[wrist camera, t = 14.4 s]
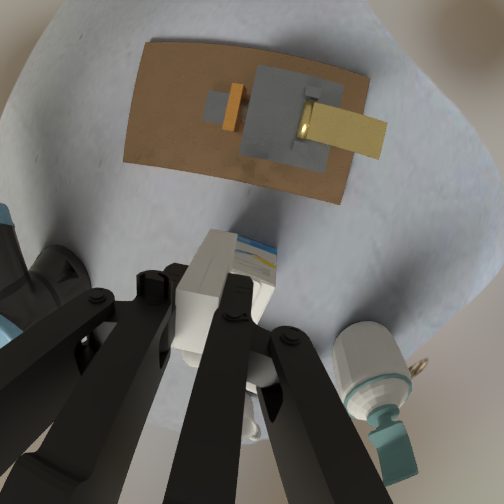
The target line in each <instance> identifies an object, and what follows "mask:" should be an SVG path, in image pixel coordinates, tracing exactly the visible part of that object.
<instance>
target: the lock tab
mask: <svg viewBox="0 0 504 504" xmlns="http://www.w3.org/2000/svg"><path fill="white" fill-rule="evenodd" d="M386 127H387V123H386V122H383V121H380V120H377V119H374V118H371V117H368V116H365V115H361V114H358V113H354V112H351V111H347V110H344V109H340V108H336V107H332V106H328V105H324V104H320V103H316V102H314V101H311V100H305V102H304V107H303V111H302V116H301V120H300V125H299V129H298V134H297V138H301V139H305V140H308V139H309V140H312V141H316V142H320V143H324V144H328V145H331V146H335V147H338V148H342V149H345V150H349V151H352V152H355V153H358V154H362V155H365V156H368V157H371V158H374V159H377V160H379V157H380V153H381V149H382V144H383V140H384V136H385V132H386Z"/></svg>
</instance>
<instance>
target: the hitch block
mask: <svg viewBox="0 0 504 504" xmlns="http://www.w3.org/2000/svg"><path fill="white" fill-rule="evenodd" d="M369 81H370V78H368V77H365V76H363V75H360V74H357V73H354V72H351V71H348V70H344V69H341V68H338V67H335V66H331V65H328V64H324V63H320V62H317V61H313V60H309V59H305V58H300V57H296V56H291V55H287V54H282V53H277V52H271V51H265V50H259V49H253V48H246V47H238V46H230V45H220V44H208V43H190V42H145V46H144V50H143V53H142V57H141V61H140V65H139V70H138V74H137V78H136V83H135V88H134V93H133V98H132V103H131V109H130V114H129V120H128V127H127V133H126V141H125V148H124V156H123V162H127V163H134V164H141V165H148V166H155V167H162V168H168V169H174V170H180V171H186V172H192V173H198V174H203V175H209V176H214V177H219V178H225V179H230V180H235V181H240V182H244V183H249V184H254V185H259V186H263V187H268V188H272V189H277V190H281V191H285V192H290V193H294V194H298V195H302V196H306V197H310V198H314V199H318V200H322V201H326V202H330V203H333V204H337V205H340V203H341V200H342V196H343V192H344V189H345V185H346V181H347V178H348V174H349V170H350V166H351V162H352V158H353V154H354V152H352V151H349V150H345V149H342V148H338V147H335V146H331V145H328V144H324V143H320V142H316V141H312V140H309V139H308V140H305V139H301V138H297V134H298V129H299V125H300V120H301V116H302V111H303V107H304V102H305V100H311V101H314V102H316V103H320V104H324V105H328V106H332V107H336V108H340V109H344V110H347V111H351V112H354V113H358V114H361V115H363V111H364V106H365V101H366V97H367V92H368V86H369ZM232 83H237V84H243V85H244V86H245V87H246V89H247V92H246V97H245V99H247V100H250V102H249V107H248V111H247V116H246V120H245V122H243V121H240V125H239V130H238V132H234V131H228V130H222V128H223V123H224V118H225V113H226V109H227V104H228V99H229V95H230V90H231V86H232Z"/></svg>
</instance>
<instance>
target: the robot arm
mask: <svg viewBox="0 0 504 504" xmlns="http://www.w3.org/2000/svg"><path fill="white" fill-rule="evenodd" d="M237 235H238V234H236V233H230V232H225V231H219V230H214V229H210V231H209V232H208V234H207V236H206V237H205V239H204V241H203V242H202V244H201V246H200V248H199V249H198V251H197V253H196V254H195V256H194V258H193V260H192V261H191V263H190V265H189V266H188V265H183V264H178V263H173V264H171V265H169V266H167V267H166V268H165V269H164V271H163V272H162V271H157V270H148V271H144V272H140V273H139V274H138V275H136V277H137V296H136V297H135V299H134V300H133V301H115V296H114V294H113V293H112V292H111V291H110V290H108V289H104V288H92V289H91V284H90V280H89V277H88V274H87V272H86V270H85V268H84V266H83V265H82V263H81V262H80V260H79V259H78V258H77V257H76V256H75V255H74V254H73V253H72V252H71V251H70V250H68V249H66V248H64V247H62V246H58V245H53V246H50V247H48V248H46V249H45V250H43V251H42V252H41V253H40V254H39V255H38V257H37V259H36V261H35V262H34V263H33V265H32V266H31V268H30V269H29V271H28V270H27V267H26V264H25V261H24V258H23V255H22V252H21V249H20V245H19V242H18V239H17V235H16V232H15V225H14V223H13V222H12V219H11V215H10V212H9V209H8V207H7V206H6V205H5V204H3V203H0V476H1V475H2V474H3V473H5V471H6V470H7V469H8V468H9V467H10V466H11V465H12V464H13V463H14V462H15V461H16V460H17V461H16V462H15V464H14V466H13V468H12V470H11V471H10V473H9V475H8V477H7V479H6V481H5V483H4V486H3V488H2V490H1V492H0V504H117V503H118V500H119V497H120V494H121V491H122V487H123V485H124V482H125V479H126V476H127V473H128V470H129V467H130V464H131V461H132V458H133V455H134V452H135V449H136V446H137V444H138V441H139V438H140V435H141V432H142V430H143V427H144V424H145V421H146V419H147V416H148V413H149V411H150V408H151V405H152V402H153V400H154V397H155V394H156V392H157V389H158V387H159V384H160V381H161V379H162V376H163V374H164V371H165V368H166V366H167V363H168V361H169V358H170V353H171V344H172V342H173V339H174V348H177V349H181V350H186V351H190V352H195V353H200V354H202V357H201V360H200V364H199V367H198V371H197V375H196V378H195V382H194V385H193V389H192V393H191V396H190V400H189V404H188V407H187V411H186V415H185V419H184V422H183V426H182V430H181V434H180V437H179V441H178V445H177V449H176V453H175V457H174V460H173V464H172V468H171V472H170V477H169V481H168V484H167V488H166V492H165V496H164V500H163V503H162V504H235V497H236V487H237V477H238V466H239V457H240V446H241V436H242V426H243V415H244V404H245V393H246V383H247V382H249V383H252V384H254V385H256V391H257V395H258V398H259V402H260V406H261V410H262V413H263V417H264V421H265V424H266V428H267V431H268V435H269V439H270V442H271V445H272V449H273V452H274V456H275V459H276V463H277V466H278V470H279V473H280V476H281V480H282V483H283V487H284V490H285V493H286V497H287V499H288V503H289V504H393V502H392V500H391V498H390V496H389V494H388V492H387V490H386V488H385V486H384V484H383V482H382V480H381V478H380V476H379V474H378V472H377V470H376V468H375V466H374V464H373V462H372V460H371V458H370V456H369V454H368V452H367V450H366V448H365V446H364V444H363V442H362V440H361V438H360V436H359V434H358V432H357V430H356V428H355V426H354V424H353V422H352V421H351V418H350V416H349V414H348V412H347V410H346V408H345V407H344V405H343V403H342V401H341V399H340V397H339V395H338V393H337V391H336V389H335V387H334V385H333V383H332V381H331V379H330V377H329V375H328V373H327V372H326V370H325V368H324V366H323V364H322V362H321V360H320V358H319V356H318V354H317V352H316V350H315V348H314V347H313V345H312V343H311V341H310V339H309V337H308V336H307V335H306V333H304V332H303V331H301V330H300V329H298V328H295V327H291V326H279V327H277V328H275V329H274V330H273V331H272V332H270V331H268V330H265V329H263V328H261V327H259V326H258V325H257V324H256V323H255V322H254V321H253V320H252V317H251V309H252V298H253V287H254V282H253V281H252V279H251V277H250V276H245V275H239V274H234V273H231V270H232V265H233V259H234V253H235V247H236V241H237ZM85 336H86V337H87V340H86V341H85V342H83V343H81V340H82V339H83V338H84V337H85ZM53 422H54V423H53ZM52 423H53V424H52ZM51 424H52V426H51V428H50V430H49V432H48V433H47V435H46V437H45V439H44V441H43V442H42V444H41V446H40V448H39V449H38V450H37V451H36V452H33V453H24V454H23V452H25V451H26V450H27V448H28V447H29V446H30V445H31V444H32V443H33V442H34V441H35V440H36V439H37V438H38V437H39V436H40V435H41V434H42V433H43V432H44V431H45V430H46V429H47V428H48V427H49V426H50V425H51ZM22 454H23V455H22Z"/></svg>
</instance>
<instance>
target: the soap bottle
mask: <svg viewBox="0 0 504 504" xmlns="http://www.w3.org/2000/svg"><path fill="white" fill-rule="evenodd" d="M332 363H333V368H334V373H335V378H336V384H337V390H338V395H339V397H340V399H341V401H342V403H343V405H344V407H345V408H346V410H347V412H348V414H349V416H350V417H352V418H355V419H361V420H367V422H368V424H369V425H370V426H375V427H376V426H378V427H377V428H376V430H374V431H372V432H370V433H369V434H368V438H369V440H370V441H371V442H372V443H373V445H374V446H375V447H376V449H377V452H378V456H379V461H380V466H381V471H382V476H383V484H384V486H385V487H386V486H389V485H392V484H394V483H397V482H399V481H402V480H405V479H407V478H410V477H412V476H414V475H417V474H418V468H417V464H416V461H415V457H414V453H413V450H412V446H411V443H410V440H409V437H408V434H407V431H406V429H405V427H404V425H403V423H402V421H393V420H394V419H396V418H397V416H398V415H399V408H400V407H401V406H402V405H403V403H404V402H405V401H406V400H407V398H408V397H409V395H410V393H411V391H412V390H411V389H412V383H411V374H410V372H409V369H408V367H407V365H406V363H405V360H404V358H403V356H402V354H401V352H400V350H399V347H398V345H397V343H396V341H395V339H394V337H393V336H392V334H391V333H390V332H389V331H388V330H387V329H386V327H385V326H383V325H381V324H379V323H376V322H373V321H361V322H358V323H355V324H352V325H350V326H349V327H347V328H346V329H345V330H343V331H342V332H341V333H340V335H339V336H338V337H337V339H336V340H335V343H334V347H333V351H332Z"/></svg>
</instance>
